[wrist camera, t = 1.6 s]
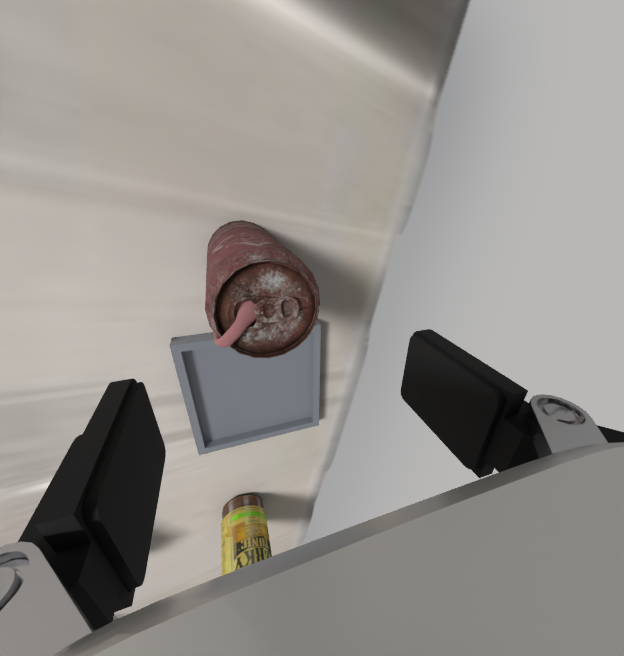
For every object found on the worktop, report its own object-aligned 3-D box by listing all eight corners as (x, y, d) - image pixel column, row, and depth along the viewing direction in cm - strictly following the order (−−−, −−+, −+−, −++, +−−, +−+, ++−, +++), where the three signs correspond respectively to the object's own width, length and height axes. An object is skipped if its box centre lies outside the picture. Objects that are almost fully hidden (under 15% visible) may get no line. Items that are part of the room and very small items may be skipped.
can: (190, 255, 25) (171, 322, 13) (241, 204, 24) (272, 224, 12) (240, 300, 28) (263, 386, 16) (287, 256, 27) (346, 311, 15)
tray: (171, 337, 27) (169, 345, 26) (316, 318, 31) (321, 324, 30) (199, 444, 34) (199, 455, 33) (314, 416, 38) (318, 425, 37)
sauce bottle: (270, 492, 43) (309, 694, 26) (251, 519, 44) (276, 726, 27) (230, 489, 39) (246, 715, 23) (212, 518, 41) (213, 751, 24)
